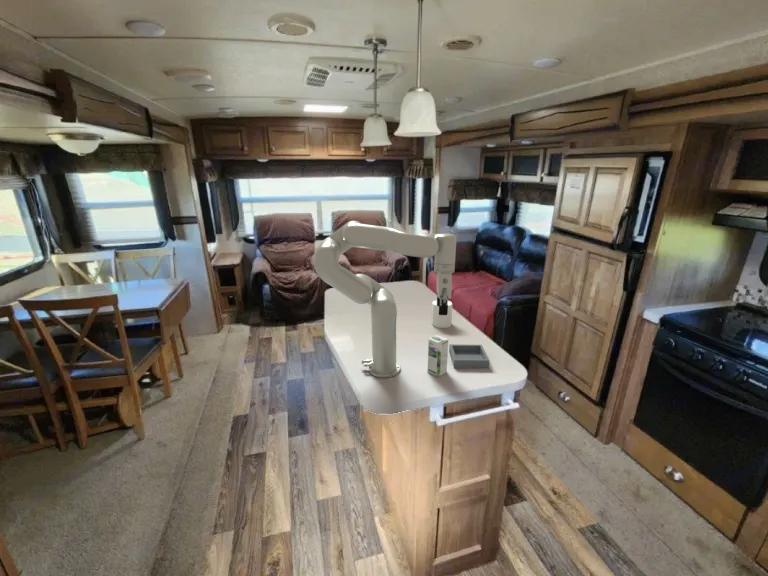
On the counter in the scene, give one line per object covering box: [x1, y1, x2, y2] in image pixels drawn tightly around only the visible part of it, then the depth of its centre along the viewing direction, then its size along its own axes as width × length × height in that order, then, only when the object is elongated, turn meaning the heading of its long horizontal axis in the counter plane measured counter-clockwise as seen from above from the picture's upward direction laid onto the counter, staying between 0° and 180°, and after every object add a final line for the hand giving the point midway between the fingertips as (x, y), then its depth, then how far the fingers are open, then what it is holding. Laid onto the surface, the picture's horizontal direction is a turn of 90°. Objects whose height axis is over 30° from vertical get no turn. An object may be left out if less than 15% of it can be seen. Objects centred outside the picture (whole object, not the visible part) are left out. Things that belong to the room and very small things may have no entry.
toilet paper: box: [431, 299, 453, 329], centre depth 183 cm, size 10×10×12 cm
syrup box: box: [427, 334, 449, 378], centre depth 137 cm, size 6×6×14 cm
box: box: [448, 344, 490, 369], centre depth 147 cm, size 14×14×4 cm
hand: (441, 310), depth 135 cm, fingers open, 9 cm apart
